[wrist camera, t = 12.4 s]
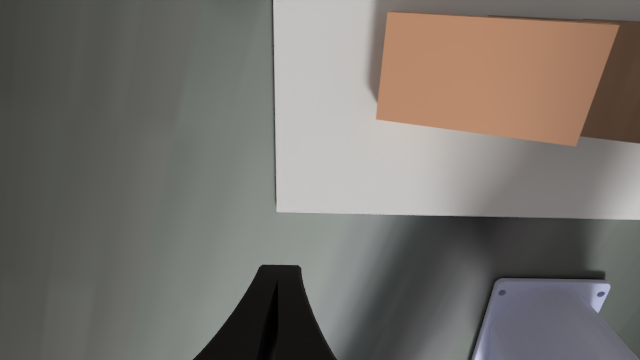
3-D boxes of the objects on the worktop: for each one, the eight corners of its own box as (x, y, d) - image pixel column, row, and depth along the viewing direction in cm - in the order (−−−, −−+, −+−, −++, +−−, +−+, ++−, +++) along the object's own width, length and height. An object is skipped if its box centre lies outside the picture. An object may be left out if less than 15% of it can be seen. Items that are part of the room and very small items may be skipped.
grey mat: (740, 218, 25) (747, 222, 24) (277, 208, 24) (276, 212, 23) (920, -76, 18) (933, -77, 17) (272, -107, 17) (271, -109, 16)
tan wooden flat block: (393, 11, 18) (606, 22, 16) (381, 111, 21) (567, 135, 18) (387, 12, 17) (619, 25, 15) (375, 119, 19) (576, 146, 17)
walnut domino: (488, 14, 19) (714, 26, 16) (467, 114, 21) (663, 137, 18) (490, 16, 17) (737, 28, 15) (467, 122, 19) (679, 148, 17)
